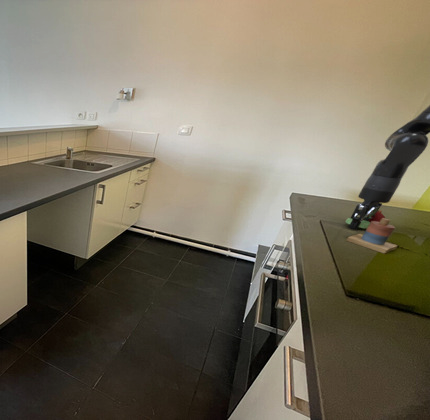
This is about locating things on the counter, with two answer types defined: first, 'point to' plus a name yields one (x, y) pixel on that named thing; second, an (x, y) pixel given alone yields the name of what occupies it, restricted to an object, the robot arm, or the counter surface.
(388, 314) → the counter surface
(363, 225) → the ring
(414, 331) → the counter surface
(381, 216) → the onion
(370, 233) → the stand
